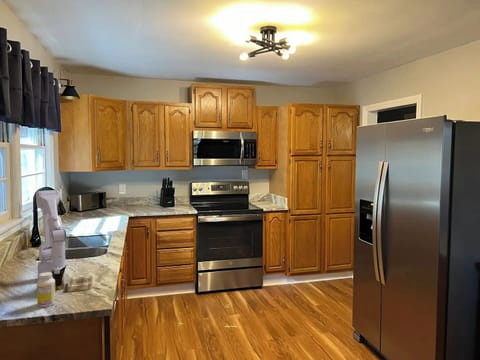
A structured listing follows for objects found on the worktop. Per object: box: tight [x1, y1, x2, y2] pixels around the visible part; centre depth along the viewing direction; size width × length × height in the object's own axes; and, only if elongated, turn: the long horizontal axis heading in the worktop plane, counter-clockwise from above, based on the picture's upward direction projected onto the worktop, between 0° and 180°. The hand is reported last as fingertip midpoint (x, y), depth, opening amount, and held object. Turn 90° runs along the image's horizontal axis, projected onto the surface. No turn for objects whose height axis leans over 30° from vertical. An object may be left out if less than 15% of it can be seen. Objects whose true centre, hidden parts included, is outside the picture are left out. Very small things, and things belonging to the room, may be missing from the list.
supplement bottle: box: [36, 272, 57, 308], centre depth 147 cm, size 7×7×13 cm
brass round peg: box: [55, 273, 65, 290], centre depth 164 cm, size 4×4×7 cm
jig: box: [67, 275, 93, 293], centre depth 168 cm, size 10×12×2 cm
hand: (59, 284), depth 164 cm, fingers closed on brass round peg, 4 cm apart
